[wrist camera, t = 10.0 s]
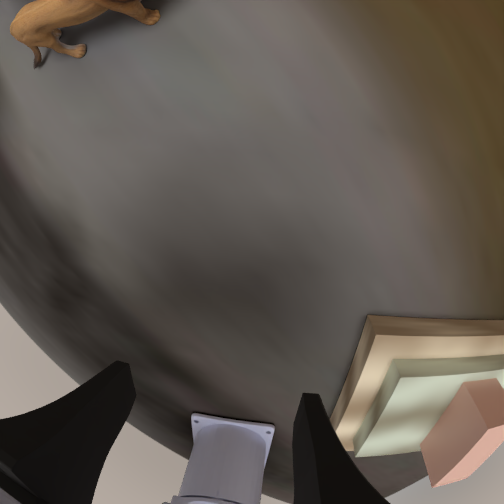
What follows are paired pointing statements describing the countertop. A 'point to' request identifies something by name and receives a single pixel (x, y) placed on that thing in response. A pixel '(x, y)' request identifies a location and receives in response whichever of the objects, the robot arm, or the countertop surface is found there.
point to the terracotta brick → (465, 432)
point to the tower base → (405, 346)
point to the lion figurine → (68, 21)
